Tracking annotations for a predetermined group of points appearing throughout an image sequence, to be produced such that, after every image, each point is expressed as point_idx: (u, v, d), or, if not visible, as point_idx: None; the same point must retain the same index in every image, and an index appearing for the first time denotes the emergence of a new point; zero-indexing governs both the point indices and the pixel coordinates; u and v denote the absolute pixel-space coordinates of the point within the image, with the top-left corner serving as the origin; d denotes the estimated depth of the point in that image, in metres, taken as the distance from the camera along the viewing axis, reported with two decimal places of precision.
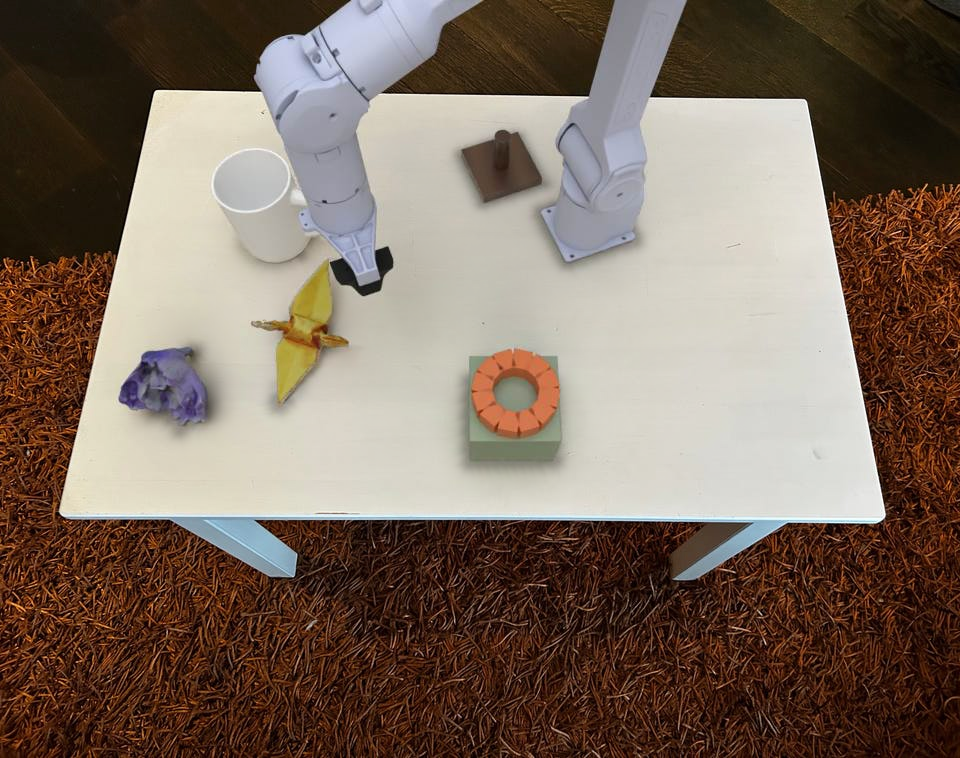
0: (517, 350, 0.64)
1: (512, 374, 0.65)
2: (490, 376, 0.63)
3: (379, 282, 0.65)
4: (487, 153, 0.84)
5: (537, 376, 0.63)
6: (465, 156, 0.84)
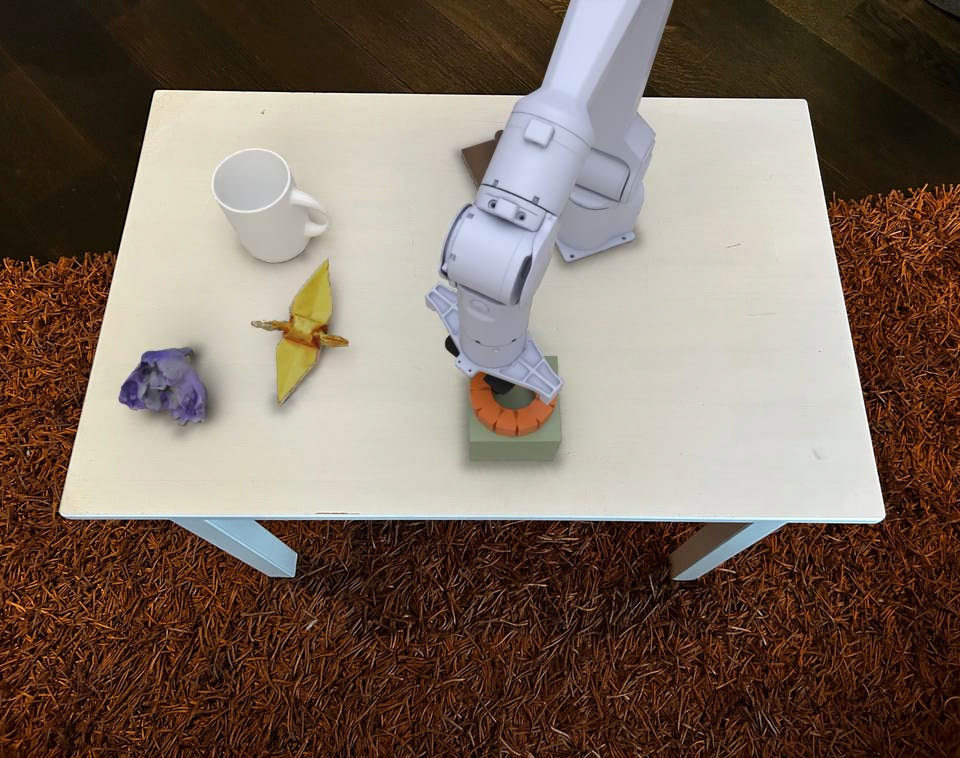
0: None
1: None
2: None
3: None
4: (487, 153, 0.84)
5: None
6: (465, 156, 0.84)
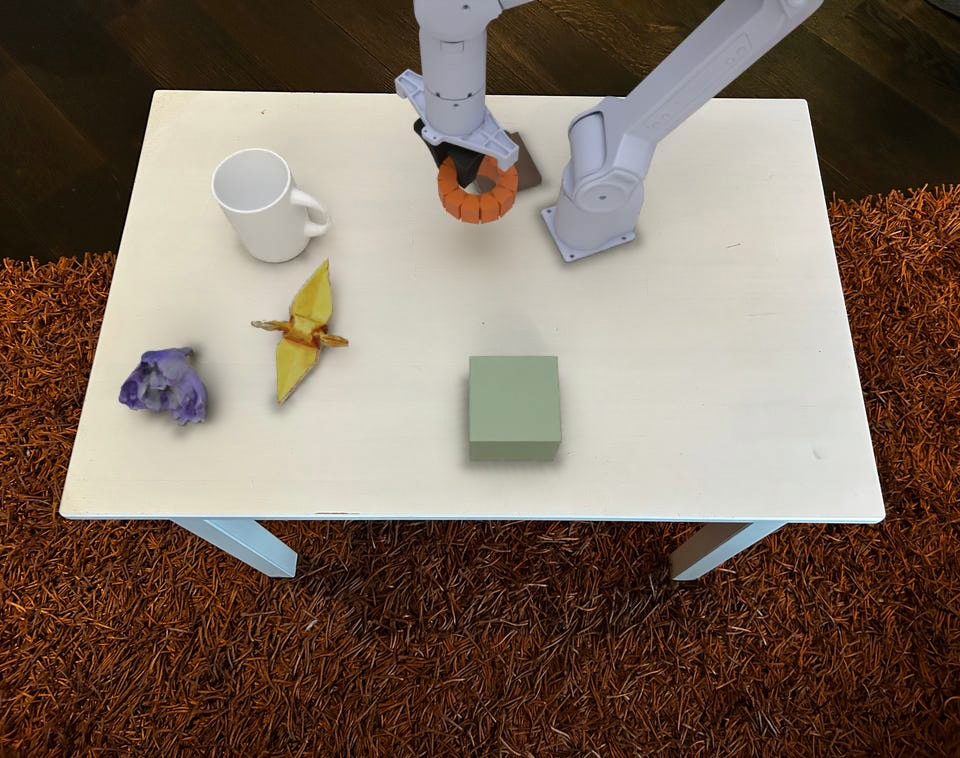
0: None
1: None
2: (454, 167, 0.69)
3: (478, 166, 0.69)
4: None
5: (497, 166, 0.69)
6: None
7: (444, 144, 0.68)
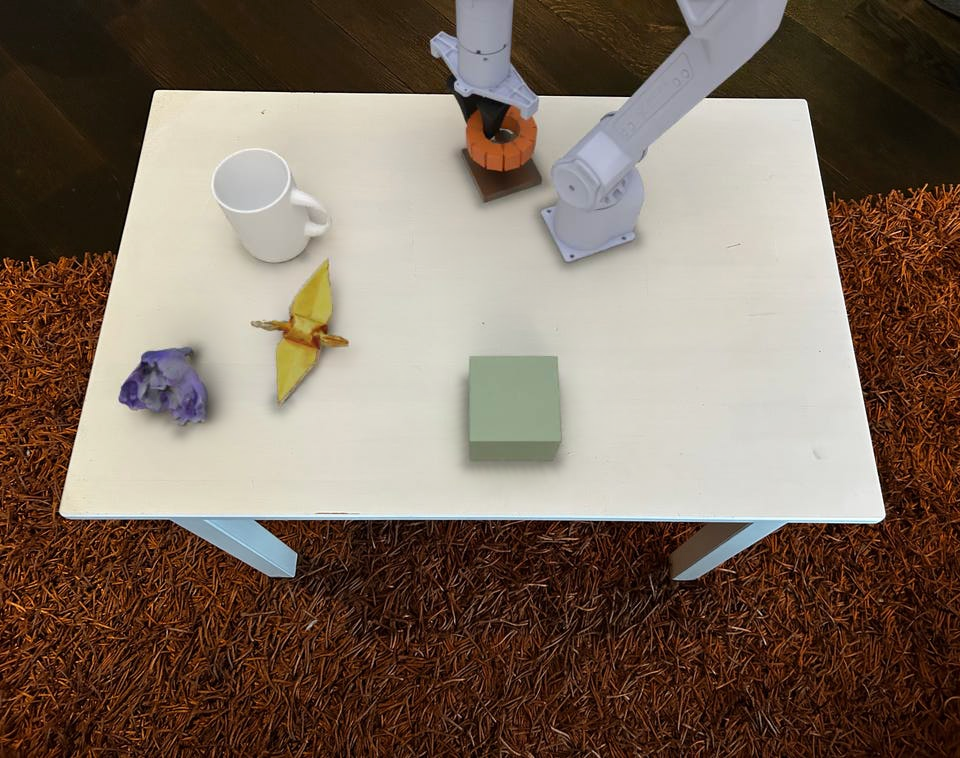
0: None
1: None
2: (481, 120, 0.78)
3: (501, 120, 0.78)
4: None
5: (518, 120, 0.78)
6: (465, 156, 0.84)
7: (472, 99, 0.77)
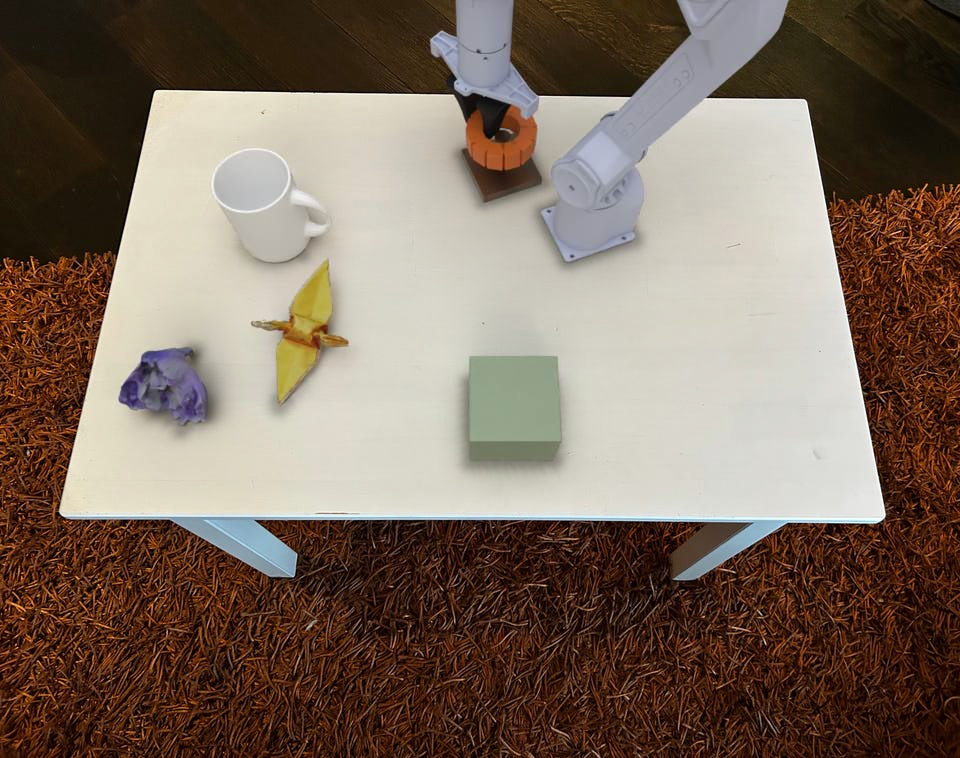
0: None
1: None
2: (481, 119, 0.78)
3: (501, 119, 0.78)
4: None
5: (518, 119, 0.78)
6: (465, 156, 0.84)
7: (472, 98, 0.77)
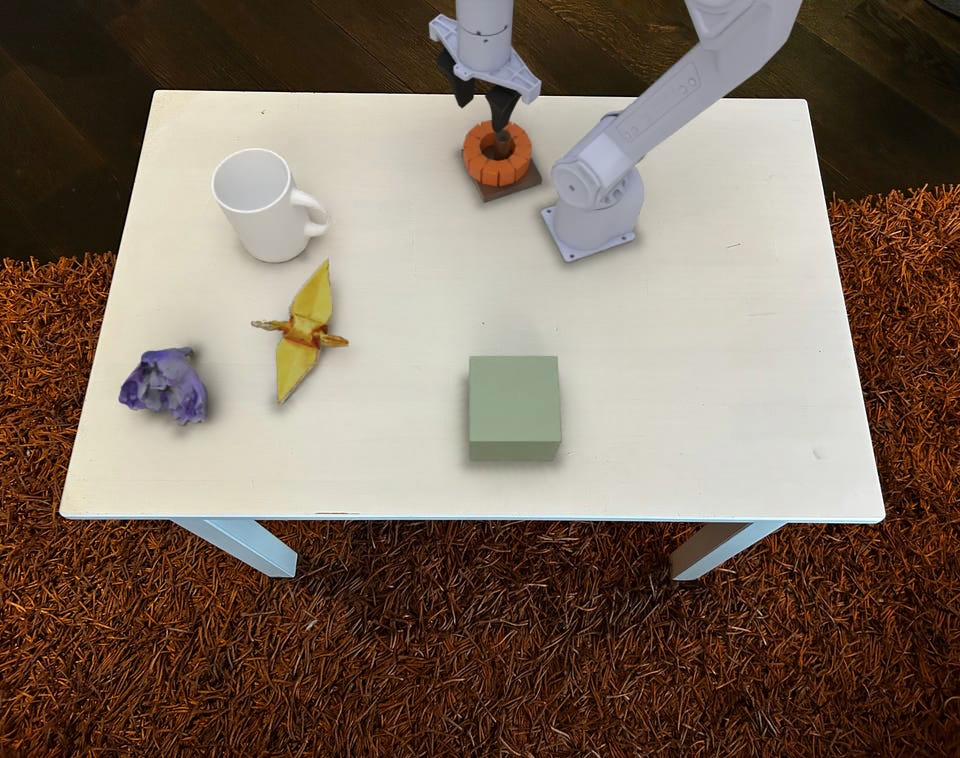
0: None
1: None
2: (478, 136, 0.82)
3: (510, 112, 0.76)
4: (487, 153, 0.84)
5: (514, 137, 0.82)
6: None
7: None
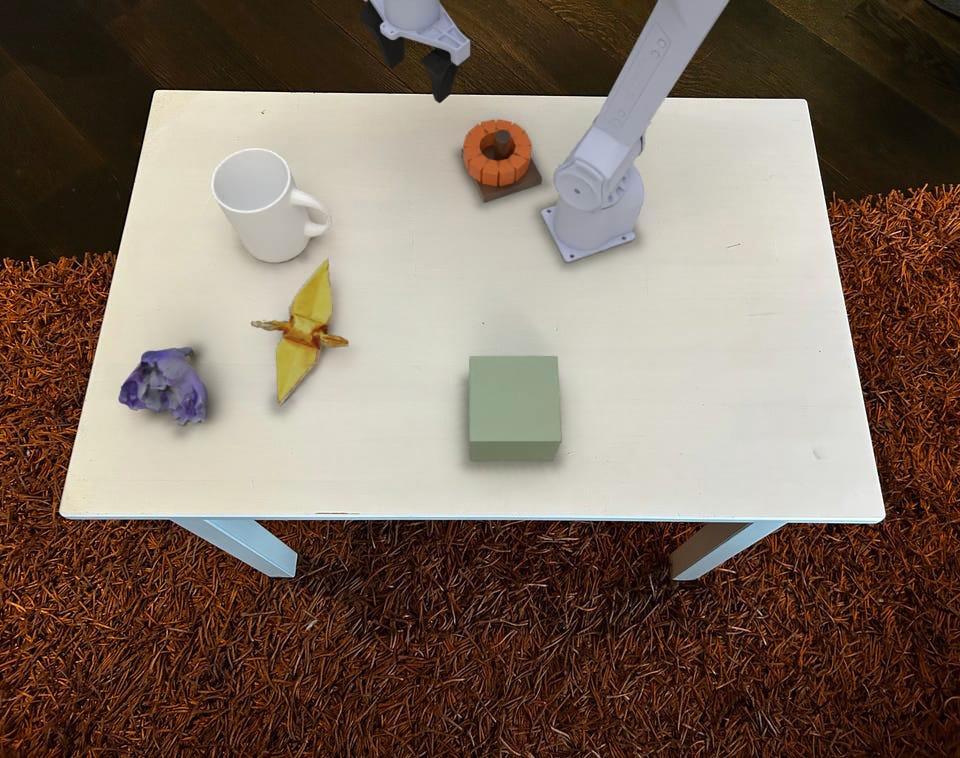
0: (499, 120, 0.83)
1: None
2: (478, 136, 0.82)
3: (452, 80, 0.73)
4: (487, 153, 0.84)
5: (514, 137, 0.82)
6: None
7: None
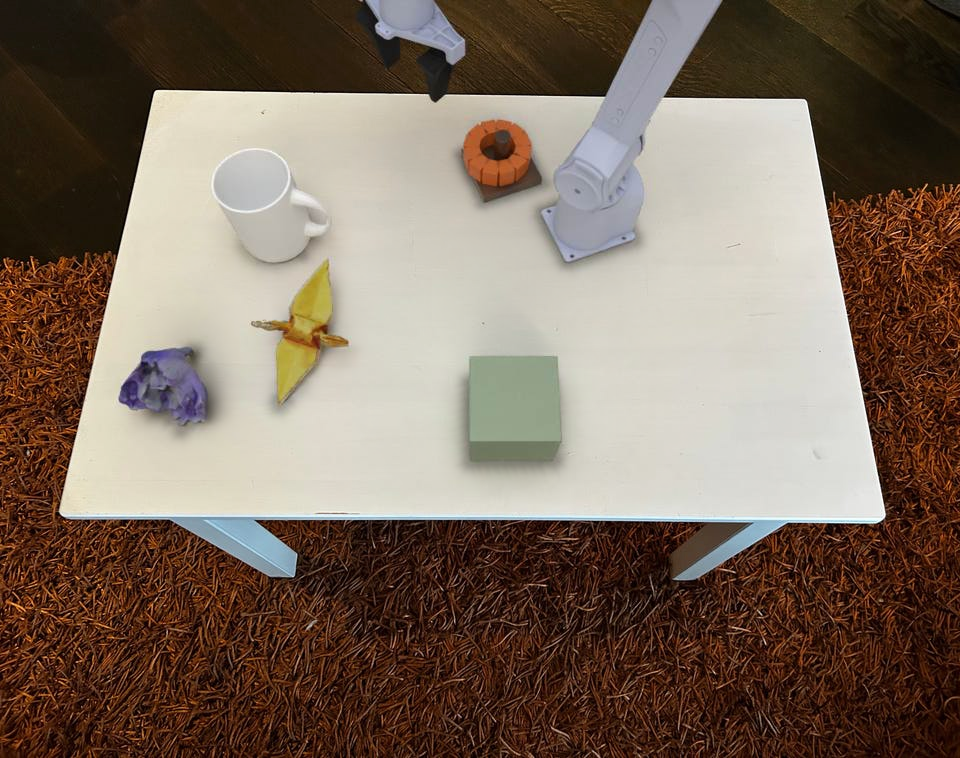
0: (499, 120, 0.83)
1: None
2: (478, 136, 0.82)
3: (448, 80, 0.74)
4: (487, 153, 0.84)
5: (514, 137, 0.82)
6: None
7: None
